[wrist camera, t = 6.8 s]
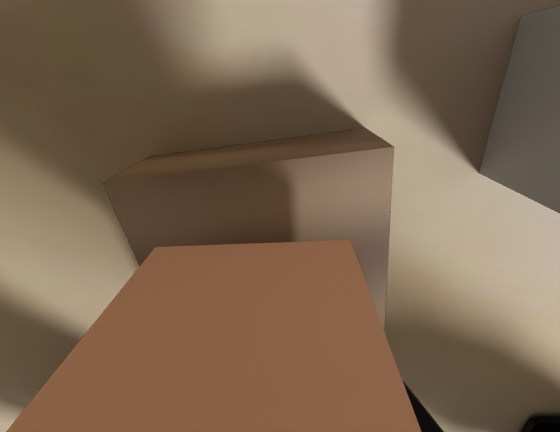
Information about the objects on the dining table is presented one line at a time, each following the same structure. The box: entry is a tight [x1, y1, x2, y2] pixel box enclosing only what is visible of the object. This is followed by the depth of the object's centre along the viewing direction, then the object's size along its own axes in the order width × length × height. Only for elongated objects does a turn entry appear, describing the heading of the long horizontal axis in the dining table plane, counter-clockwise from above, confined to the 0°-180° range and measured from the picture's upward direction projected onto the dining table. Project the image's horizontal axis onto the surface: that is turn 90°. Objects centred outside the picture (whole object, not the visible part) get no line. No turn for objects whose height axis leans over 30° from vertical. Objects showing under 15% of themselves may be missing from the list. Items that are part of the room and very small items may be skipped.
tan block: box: [102, 128, 394, 330], centre depth 13 cm, size 10×10×4 cm
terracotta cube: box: [7, 240, 421, 432], centre depth 7 cm, size 6×6×6 cm
